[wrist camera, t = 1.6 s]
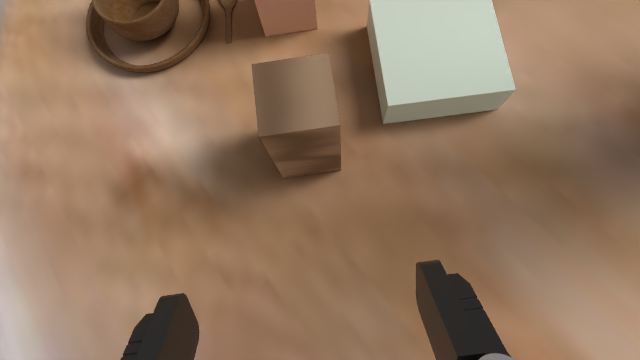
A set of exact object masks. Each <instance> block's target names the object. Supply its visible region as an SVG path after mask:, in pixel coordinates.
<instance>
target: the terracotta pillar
mask: <svg viewBox="0 0 640 360" xmlns="http://www.w3.org/2000/svg"><path fill="white" fill-rule="evenodd" d="M254 1H255V4H256V8H257V11H258V14H259V17H260V20H261V23H262V27H263V30H264V33H265V36H273V35H279V34H286V33H293V32H299V31H306V30H313V29H317V19H316V9H315V0H254Z"/></svg>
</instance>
